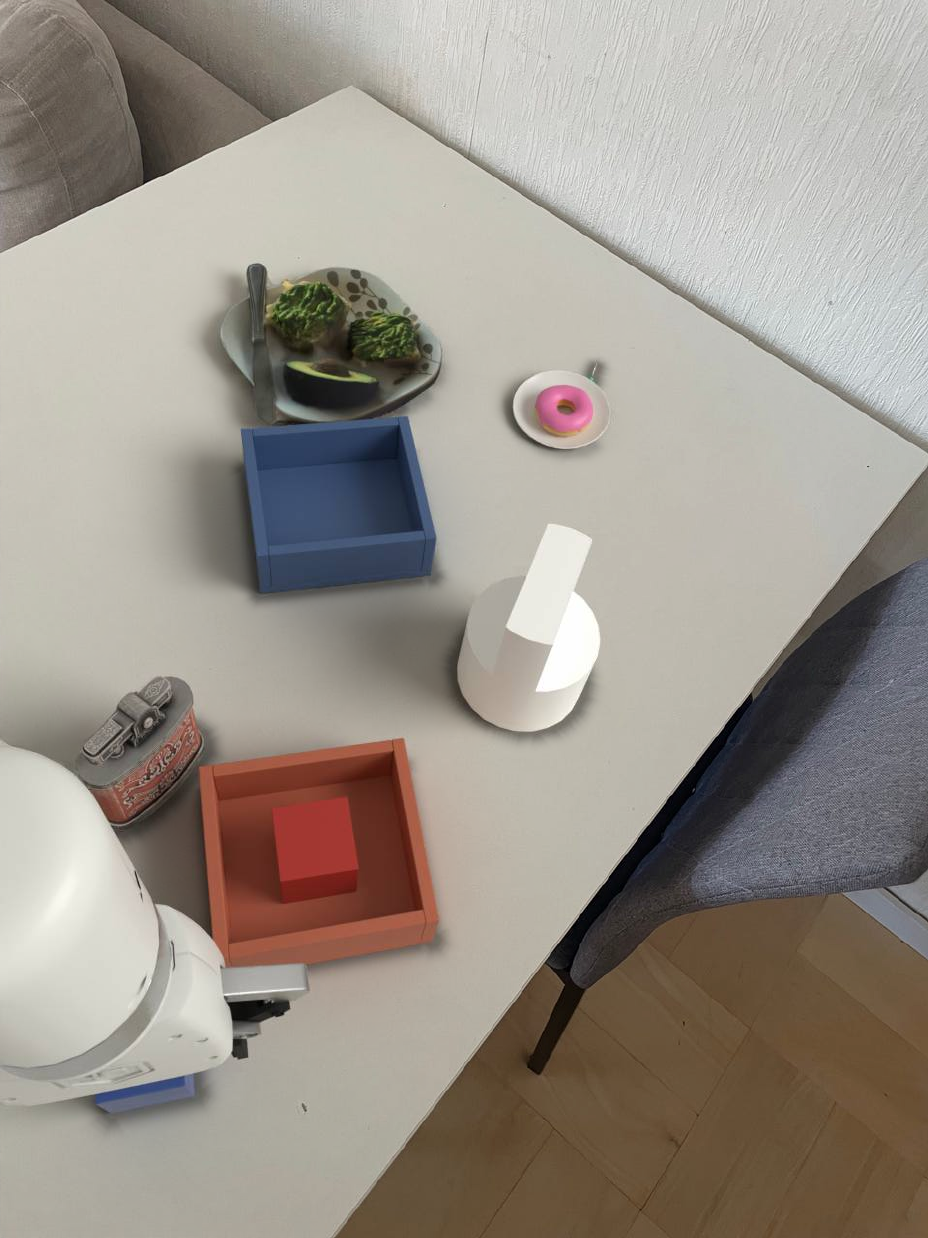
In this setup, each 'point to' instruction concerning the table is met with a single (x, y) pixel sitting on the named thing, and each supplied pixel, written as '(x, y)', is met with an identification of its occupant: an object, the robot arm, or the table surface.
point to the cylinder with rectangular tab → (531, 640)
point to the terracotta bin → (248, 868)
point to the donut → (561, 409)
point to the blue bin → (337, 504)
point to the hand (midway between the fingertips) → (142, 1046)
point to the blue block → (146, 1094)
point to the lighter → (142, 752)
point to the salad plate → (329, 346)
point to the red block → (315, 850)
